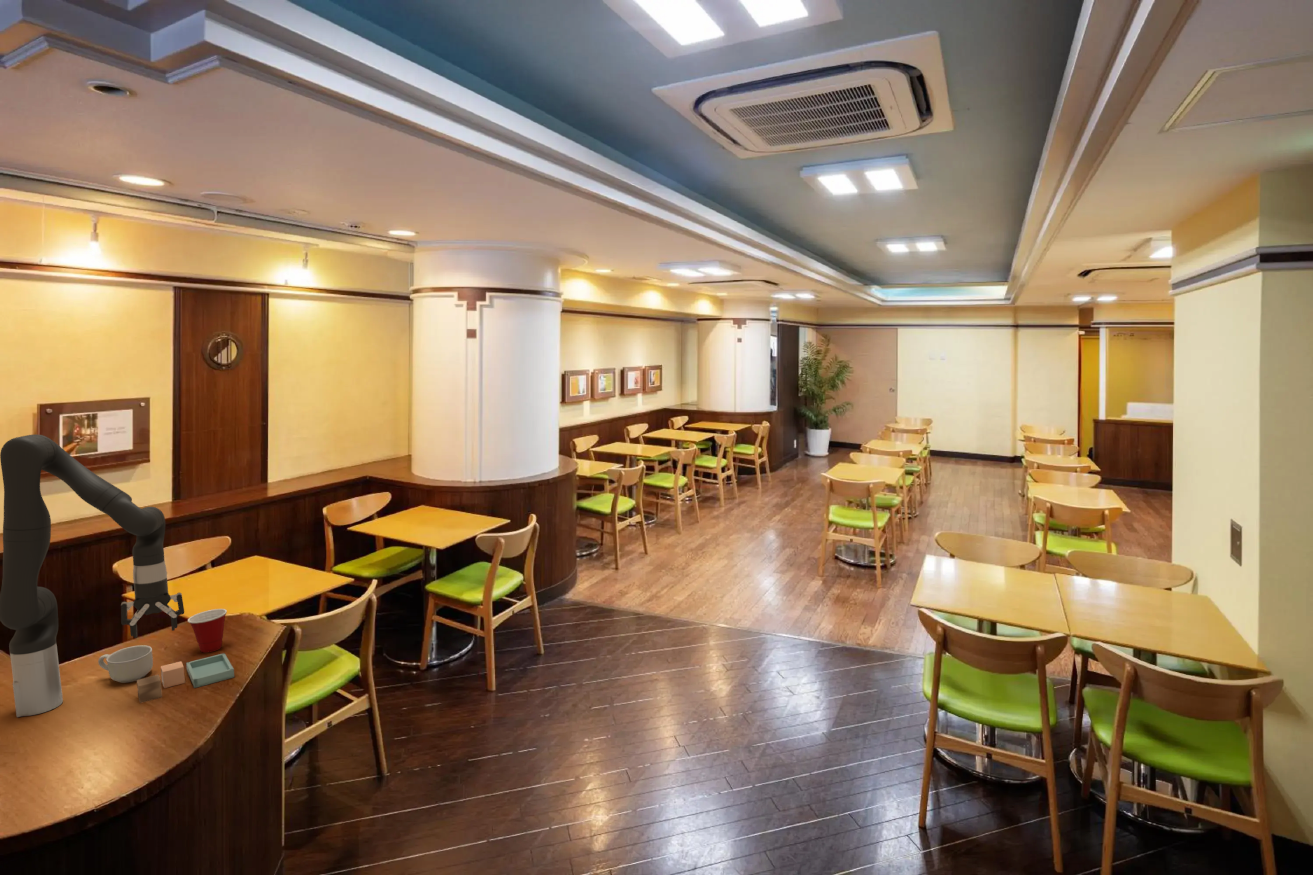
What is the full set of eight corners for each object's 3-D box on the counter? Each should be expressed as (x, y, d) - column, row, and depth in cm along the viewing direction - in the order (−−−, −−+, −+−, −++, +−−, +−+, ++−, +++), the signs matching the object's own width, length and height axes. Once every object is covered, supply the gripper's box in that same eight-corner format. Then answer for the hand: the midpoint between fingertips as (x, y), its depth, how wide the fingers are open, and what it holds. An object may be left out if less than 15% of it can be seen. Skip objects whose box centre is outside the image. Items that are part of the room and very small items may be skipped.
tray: (194, 687, 192) (193, 679, 191) (186, 670, 203) (186, 662, 202) (234, 676, 198) (233, 669, 198) (225, 660, 209) (224, 653, 209)
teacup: (163, 670, 203) (161, 645, 202) (132, 687, 192) (129, 661, 191) (122, 668, 204) (119, 643, 203) (88, 685, 194) (86, 659, 193)
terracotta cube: (164, 688, 192) (162, 672, 191) (162, 682, 196) (160, 666, 195) (185, 682, 195) (183, 666, 195) (182, 676, 199) (181, 661, 198)
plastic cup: (195, 645, 221) (192, 610, 220) (232, 640, 225) (230, 606, 224) (186, 658, 211) (183, 622, 210) (225, 652, 215) (223, 617, 214)
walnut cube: (140, 703, 183) (138, 686, 183) (138, 696, 187) (136, 679, 187) (162, 697, 187) (160, 680, 186) (160, 690, 190) (158, 674, 190)
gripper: (117, 586, 179) (122, 643, 181) (181, 576, 188) (185, 631, 189) (118, 579, 185) (123, 635, 187) (181, 570, 194) (185, 623, 195)
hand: (154, 633), depth 188 cm, fingers open, 8 cm apart
